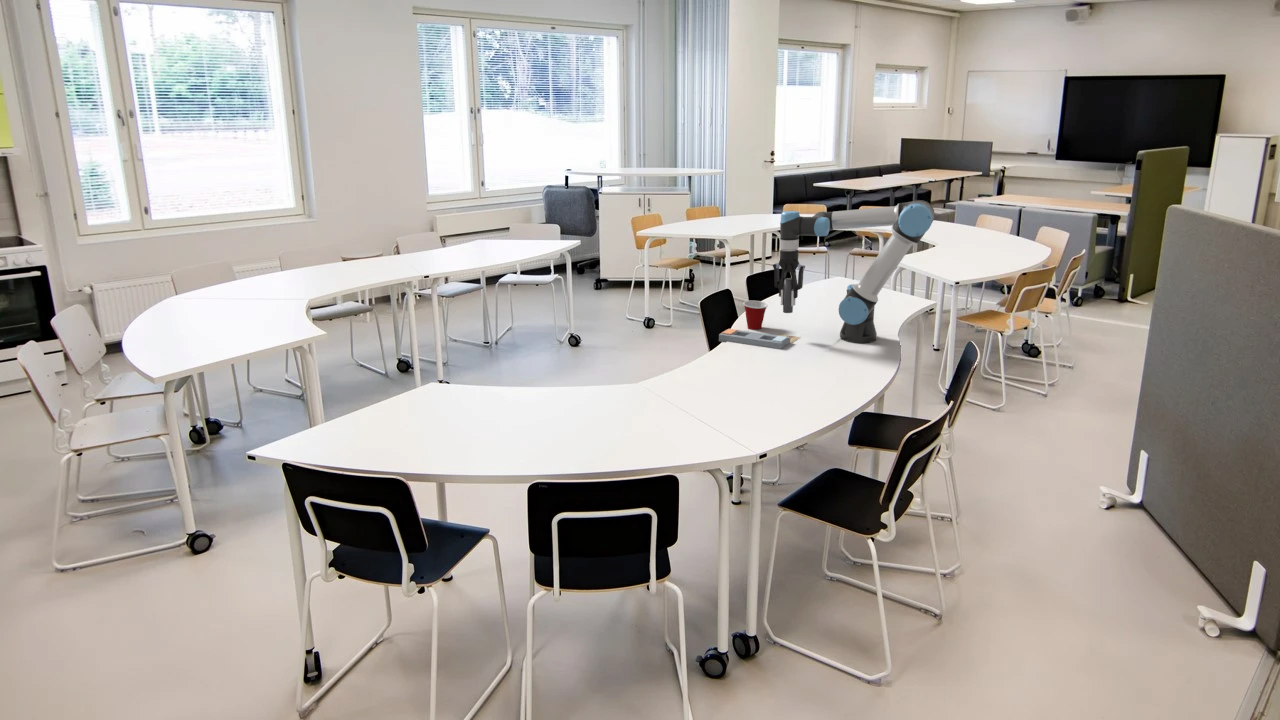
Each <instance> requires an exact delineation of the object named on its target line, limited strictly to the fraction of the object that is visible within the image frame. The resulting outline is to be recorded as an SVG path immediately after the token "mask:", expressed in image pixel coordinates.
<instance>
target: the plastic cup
mask: <svg viewBox="0 0 1280 720" xmlns="http://www.w3.org/2000/svg"><path fill="white" fill-rule="evenodd" d="M742 302H743V306H744V307H743V308H744V311H745V318H746V326H747V329H748V330H752V331H753V330H754V331H758V330H761V329H762V325H763V321H764V317H765V313H766V310H767V308H768V306H769V304H768V303H766V302H764V301H761V300H746V301H742Z"/></svg>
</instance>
